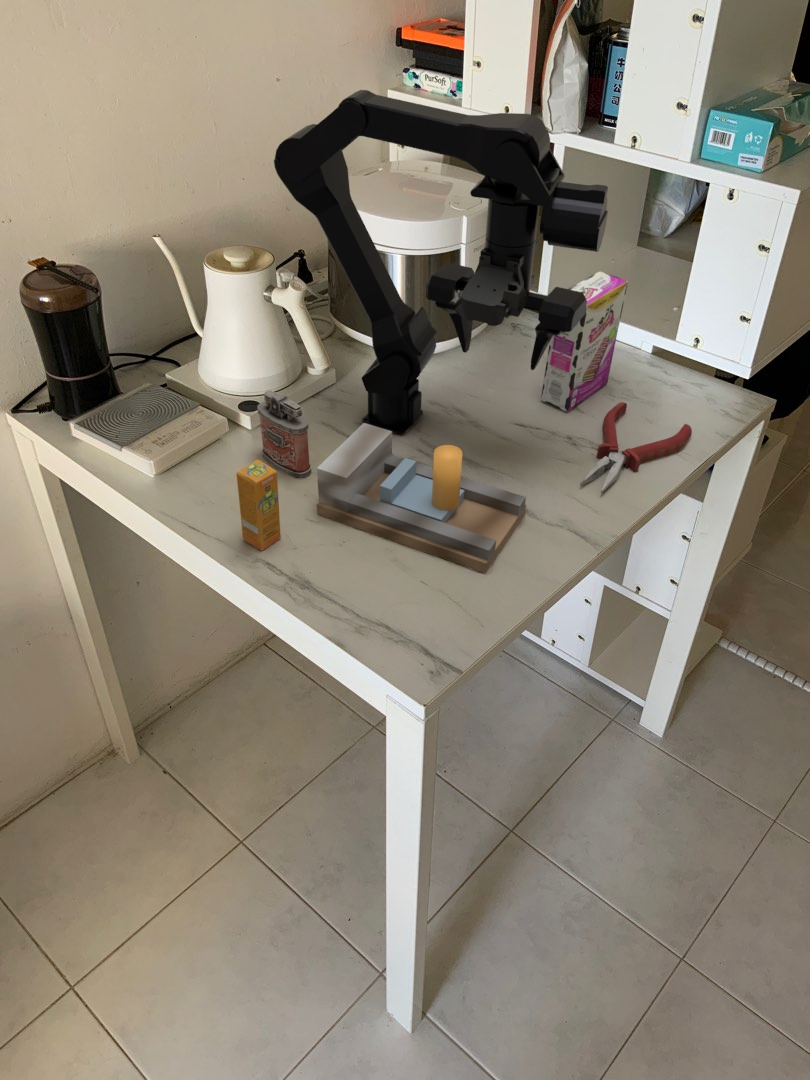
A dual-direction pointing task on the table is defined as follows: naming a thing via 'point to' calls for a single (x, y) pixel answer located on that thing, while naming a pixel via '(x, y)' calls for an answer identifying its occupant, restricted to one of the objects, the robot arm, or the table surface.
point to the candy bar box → (585, 345)
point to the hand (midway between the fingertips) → (499, 359)
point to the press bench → (457, 519)
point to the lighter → (284, 435)
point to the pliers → (633, 455)
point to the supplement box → (259, 504)
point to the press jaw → (427, 486)
